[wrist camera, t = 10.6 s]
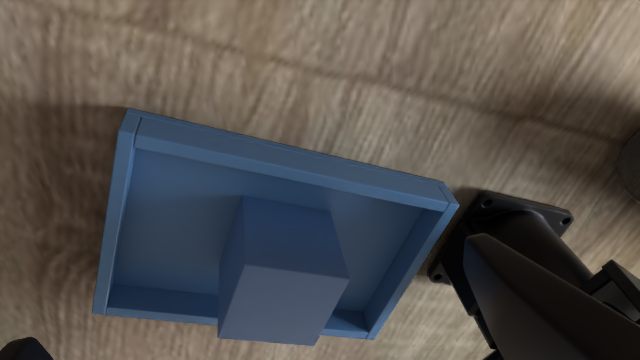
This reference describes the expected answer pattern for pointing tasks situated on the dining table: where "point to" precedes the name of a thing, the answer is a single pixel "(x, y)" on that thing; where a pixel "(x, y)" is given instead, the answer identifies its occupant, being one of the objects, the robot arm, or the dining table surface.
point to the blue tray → (219, 211)
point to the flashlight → (630, 168)
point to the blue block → (279, 273)
